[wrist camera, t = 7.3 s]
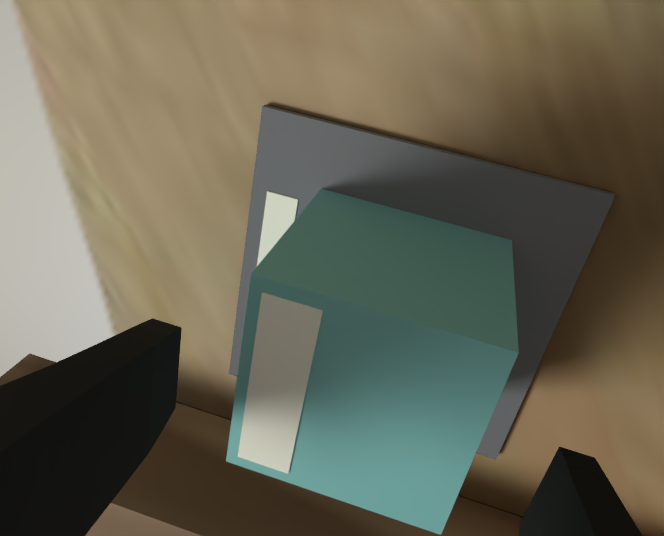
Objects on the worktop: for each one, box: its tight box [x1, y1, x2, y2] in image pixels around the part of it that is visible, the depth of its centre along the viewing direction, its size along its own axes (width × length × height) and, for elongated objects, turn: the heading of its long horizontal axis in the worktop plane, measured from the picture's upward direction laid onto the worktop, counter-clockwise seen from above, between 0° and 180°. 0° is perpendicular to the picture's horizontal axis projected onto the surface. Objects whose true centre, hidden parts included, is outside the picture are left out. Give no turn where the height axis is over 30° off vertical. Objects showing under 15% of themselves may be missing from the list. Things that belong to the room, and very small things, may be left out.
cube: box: [226, 189, 519, 535], centre depth 13 cm, size 5×5×5 cm
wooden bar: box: [0, 354, 522, 536], centre depth 17 cm, size 2×22×4 cm, turn 79°
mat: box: [229, 105, 615, 459], centre depth 15 cm, size 8×8×1 cm
